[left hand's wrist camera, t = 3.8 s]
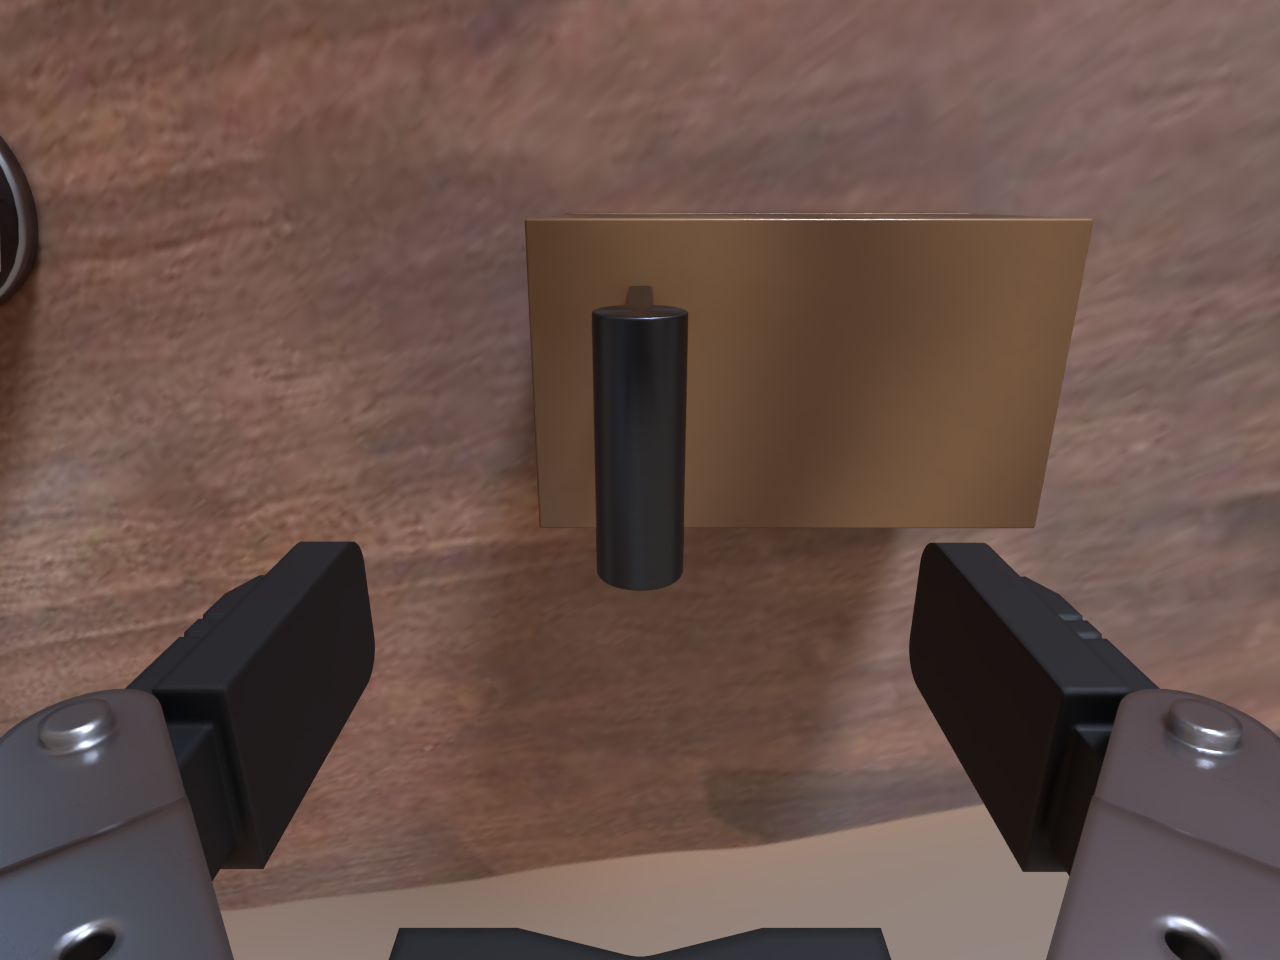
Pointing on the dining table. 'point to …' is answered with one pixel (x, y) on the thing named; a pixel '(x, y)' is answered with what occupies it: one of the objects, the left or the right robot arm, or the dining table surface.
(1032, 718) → the left robot arm
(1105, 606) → the dining table surface
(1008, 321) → the lid
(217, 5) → the dining table surface
